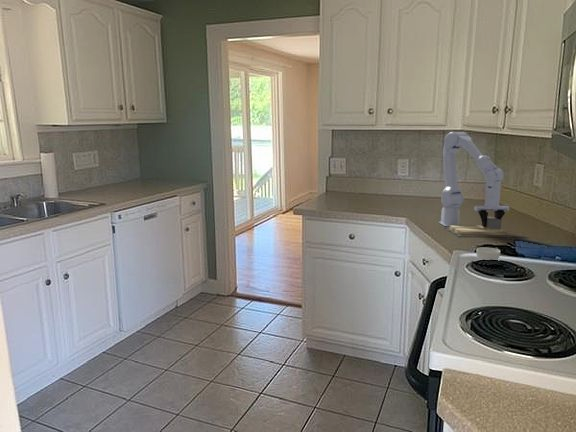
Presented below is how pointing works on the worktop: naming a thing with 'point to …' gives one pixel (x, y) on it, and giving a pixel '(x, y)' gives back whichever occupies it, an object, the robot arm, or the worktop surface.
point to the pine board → (475, 231)
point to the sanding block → (493, 223)
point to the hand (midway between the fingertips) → (490, 226)
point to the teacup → (487, 253)
